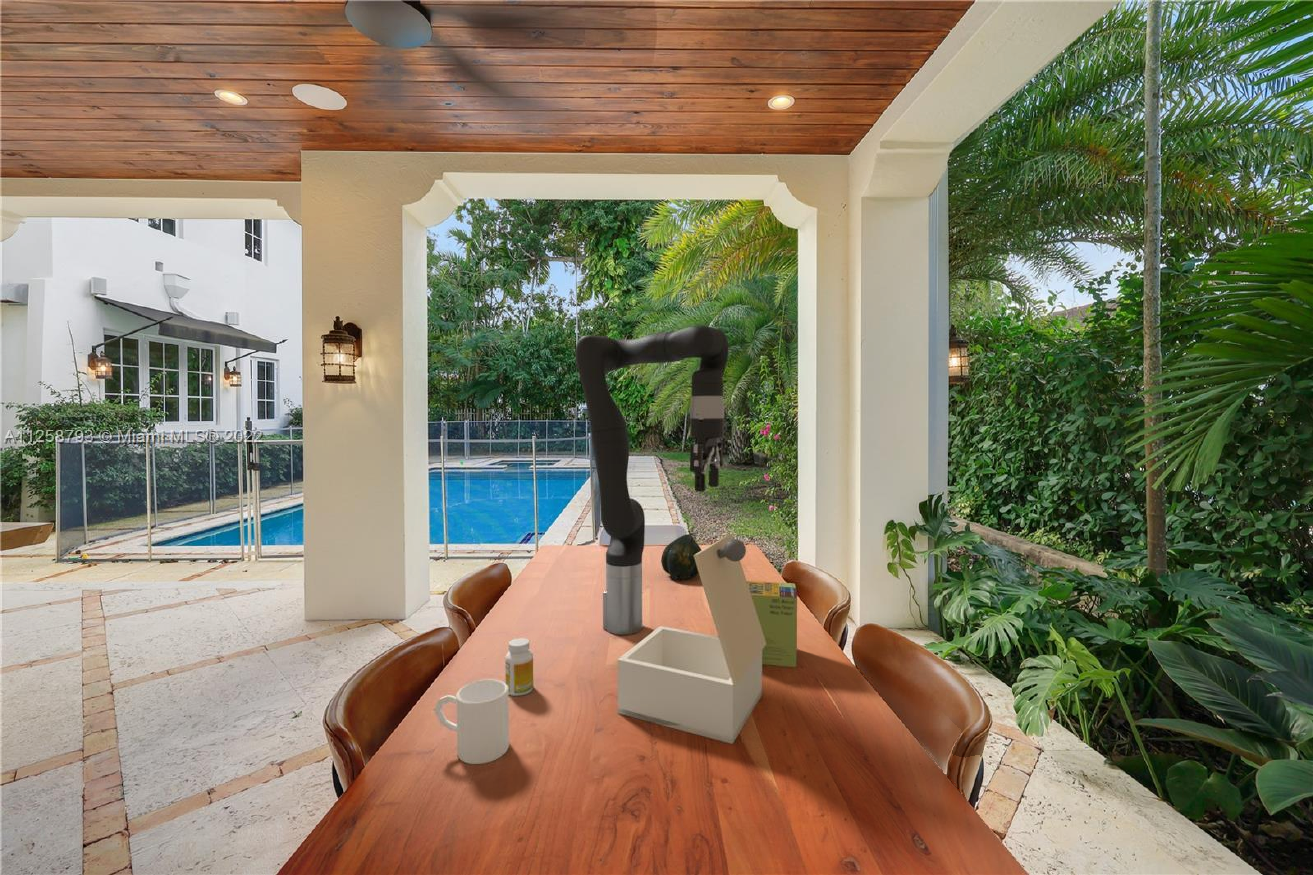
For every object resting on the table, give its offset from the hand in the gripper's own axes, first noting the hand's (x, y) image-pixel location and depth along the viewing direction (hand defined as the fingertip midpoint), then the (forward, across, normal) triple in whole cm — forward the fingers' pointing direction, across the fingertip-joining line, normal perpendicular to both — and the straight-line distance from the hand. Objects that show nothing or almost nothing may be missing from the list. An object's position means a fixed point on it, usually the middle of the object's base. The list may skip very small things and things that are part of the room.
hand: (707, 488), depth 124 cm
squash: (+38, -55, -30) cm, 73 cm away
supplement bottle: (+38, +31, -28) cm, 57 cm away
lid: (+18, +21, +13) cm, 30 cm away
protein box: (+38, -6, +11) cm, 40 cm away
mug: (+38, +50, -22) cm, 67 cm away
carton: (+38, +21, +5) cm, 44 cm away
